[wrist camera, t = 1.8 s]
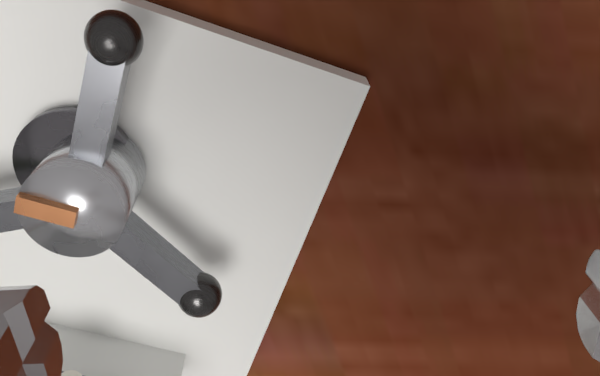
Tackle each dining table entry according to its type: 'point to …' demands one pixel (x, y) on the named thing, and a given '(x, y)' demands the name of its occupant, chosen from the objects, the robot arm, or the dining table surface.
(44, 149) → the capstan
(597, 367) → the dining table surface
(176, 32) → the stand
